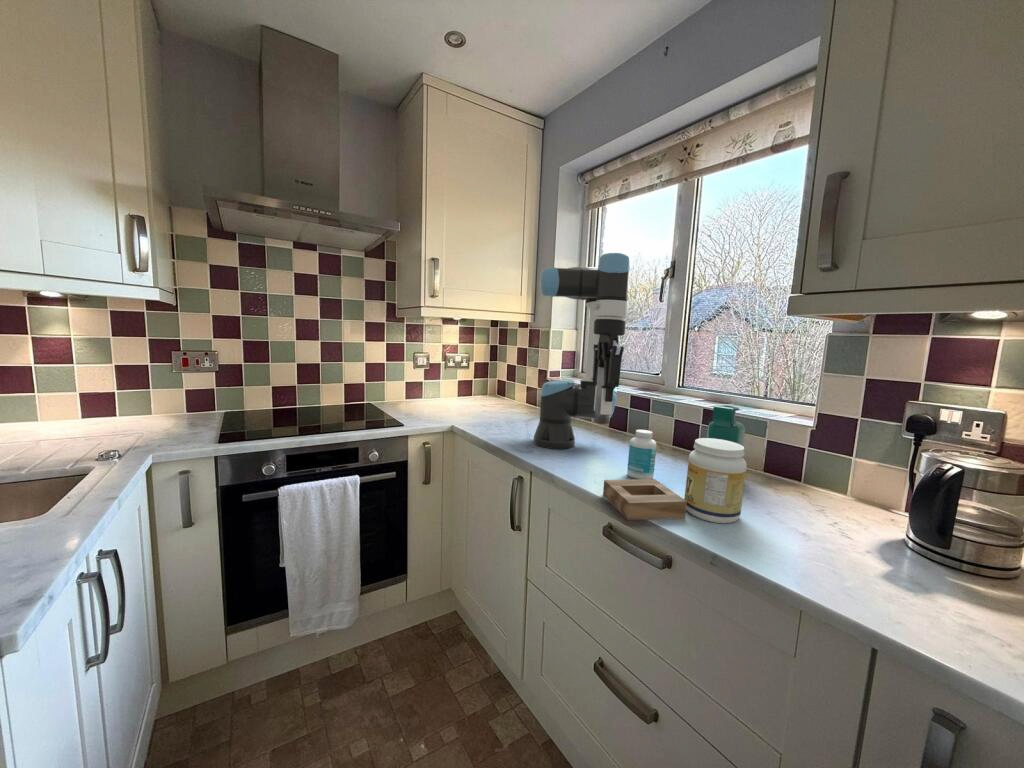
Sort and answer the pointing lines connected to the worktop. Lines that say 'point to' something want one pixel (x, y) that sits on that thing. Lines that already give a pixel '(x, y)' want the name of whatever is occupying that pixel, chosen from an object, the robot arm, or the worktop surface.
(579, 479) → the worktop surface
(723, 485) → the supplement tub
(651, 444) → the pill bottle
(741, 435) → the green bottle
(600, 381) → the pin
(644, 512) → the slot block
